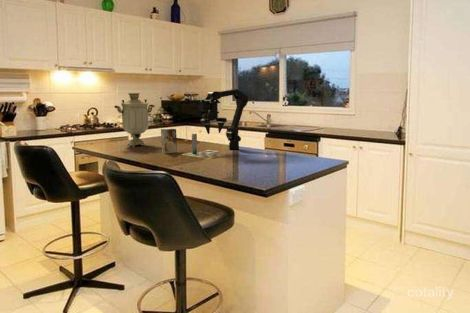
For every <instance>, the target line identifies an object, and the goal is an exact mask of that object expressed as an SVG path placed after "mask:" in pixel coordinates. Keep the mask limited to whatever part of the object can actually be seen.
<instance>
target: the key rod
mask: <svg viewBox="0 0 470 313" xmlns="http://www.w3.org/2000/svg"><path fill="white" fill-rule="evenodd" d="M197 134H198V133H191V148H192V149H191V152H192V154H197V152H198V136H197Z"/></svg>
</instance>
